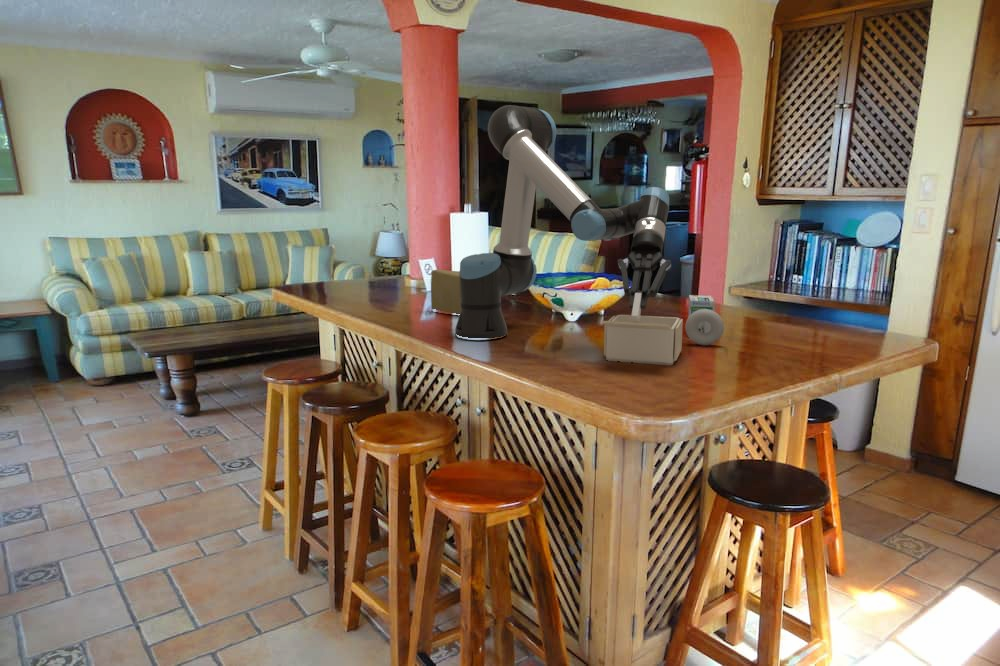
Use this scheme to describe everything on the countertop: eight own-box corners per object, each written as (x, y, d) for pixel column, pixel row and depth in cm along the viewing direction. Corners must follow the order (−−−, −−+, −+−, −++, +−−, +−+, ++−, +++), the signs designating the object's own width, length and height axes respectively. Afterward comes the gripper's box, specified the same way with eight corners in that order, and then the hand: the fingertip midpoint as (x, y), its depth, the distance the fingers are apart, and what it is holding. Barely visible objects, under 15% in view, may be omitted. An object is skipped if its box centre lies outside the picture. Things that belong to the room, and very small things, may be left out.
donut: (684, 345, 185) (685, 309, 183) (684, 343, 188) (686, 306, 186) (723, 348, 182) (725, 310, 180) (723, 345, 185) (725, 308, 183)
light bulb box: (714, 339, 193) (716, 301, 191) (689, 338, 194) (691, 300, 192) (710, 331, 203) (712, 295, 201) (687, 330, 204) (688, 294, 202)
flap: (608, 326, 168) (601, 322, 160) (608, 324, 168) (601, 320, 160) (671, 330, 163) (667, 326, 155) (671, 328, 163) (667, 324, 155)
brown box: (423, 314, 237) (421, 270, 234) (441, 309, 245) (440, 267, 242) (474, 320, 225) (473, 274, 221) (492, 315, 232) (491, 271, 229)
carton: (602, 360, 171) (603, 324, 169) (614, 347, 184) (615, 314, 183) (675, 365, 165) (677, 329, 163) (682, 351, 178) (683, 317, 176)
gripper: (620, 230, 170) (605, 308, 158) (674, 230, 165) (662, 310, 153) (623, 249, 176) (609, 326, 164) (676, 250, 171) (665, 329, 159)
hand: (635, 318), depth 158 cm, fingers closed
